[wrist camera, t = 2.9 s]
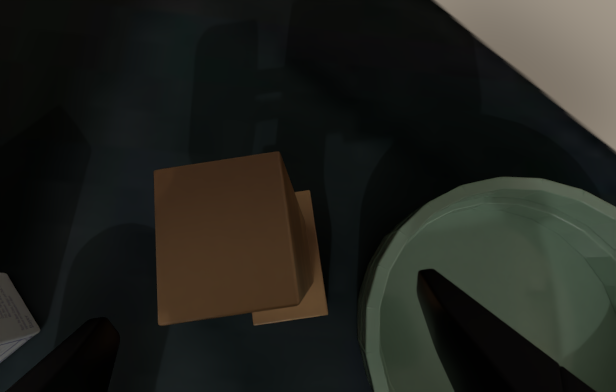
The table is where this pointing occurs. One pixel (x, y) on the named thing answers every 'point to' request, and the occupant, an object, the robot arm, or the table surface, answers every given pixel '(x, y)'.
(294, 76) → the table surface
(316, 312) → the brown stepped block
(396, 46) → the table surface
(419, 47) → the table surface
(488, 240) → the bowl
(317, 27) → the table surface
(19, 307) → the medicine box
